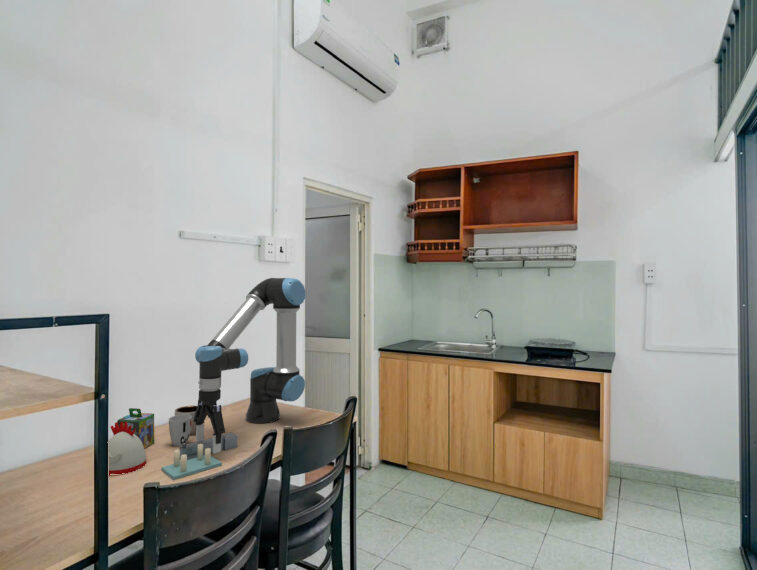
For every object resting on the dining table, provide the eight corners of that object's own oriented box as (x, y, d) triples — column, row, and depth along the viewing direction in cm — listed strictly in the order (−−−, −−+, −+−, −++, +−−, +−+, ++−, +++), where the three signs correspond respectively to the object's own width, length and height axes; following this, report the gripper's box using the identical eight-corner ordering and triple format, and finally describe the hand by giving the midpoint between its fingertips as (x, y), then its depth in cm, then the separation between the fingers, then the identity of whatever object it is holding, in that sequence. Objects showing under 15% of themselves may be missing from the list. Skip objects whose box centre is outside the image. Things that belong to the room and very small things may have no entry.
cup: (182, 448, 164) (183, 421, 164) (163, 446, 166) (163, 420, 166) (195, 441, 172) (196, 415, 172) (177, 439, 174) (177, 413, 174)
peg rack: (208, 457, 157) (208, 440, 157) (221, 465, 150) (222, 447, 150) (161, 470, 145) (161, 452, 145) (173, 479, 138) (173, 460, 138)
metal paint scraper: (231, 444, 170) (231, 429, 170) (237, 447, 166) (237, 432, 166) (178, 458, 155) (178, 442, 155) (184, 462, 152) (184, 445, 152)
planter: (168, 434, 179) (168, 410, 179) (188, 426, 189) (189, 404, 189) (188, 438, 175) (188, 414, 175) (208, 430, 185) (208, 407, 185)
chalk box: (155, 443, 169) (155, 404, 169) (139, 452, 160) (139, 411, 160) (132, 441, 170) (133, 403, 170) (115, 450, 161) (116, 410, 161)
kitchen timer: (115, 457, 155) (116, 415, 155) (154, 459, 154) (155, 416, 154) (88, 474, 141) (89, 428, 141) (130, 476, 140) (131, 429, 140)
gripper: (185, 384, 167) (183, 440, 166) (215, 396, 149) (213, 459, 149) (204, 382, 172) (202, 436, 172) (236, 393, 155) (234, 454, 154)
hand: (208, 447), depth 160 cm, fingers open, 13 cm apart
